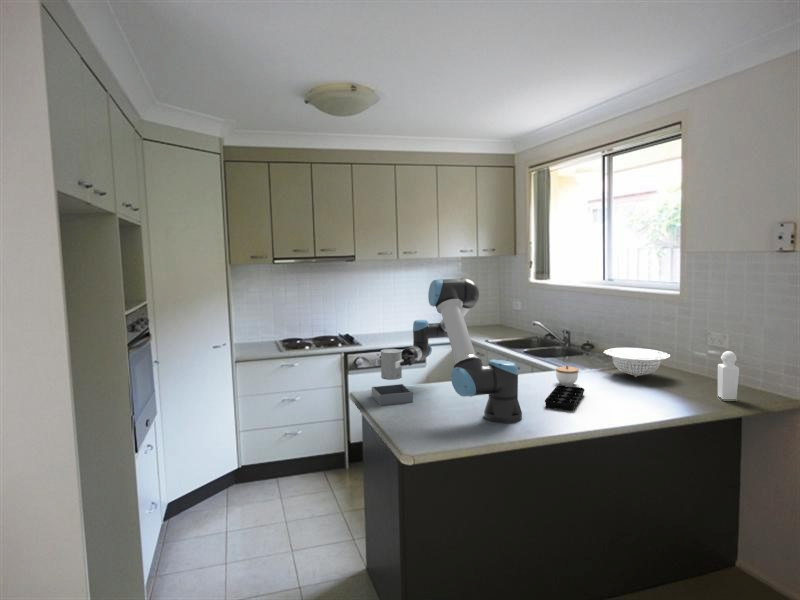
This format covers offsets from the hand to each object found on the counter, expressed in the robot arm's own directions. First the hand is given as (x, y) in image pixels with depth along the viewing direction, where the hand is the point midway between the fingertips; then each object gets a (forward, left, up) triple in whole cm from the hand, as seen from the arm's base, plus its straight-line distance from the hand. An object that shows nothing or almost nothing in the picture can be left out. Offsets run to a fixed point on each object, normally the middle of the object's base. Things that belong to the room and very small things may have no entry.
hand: (386, 364), depth 238 cm
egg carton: (+12, -79, -18) cm, 82 cm away
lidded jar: (+42, -84, -17) cm, 95 cm away
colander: (+61, -121, -17) cm, 136 cm away
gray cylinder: (+4, -2, -7) cm, 8 cm away
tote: (+4, -2, -17) cm, 18 cm away
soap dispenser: (+23, -150, -17) cm, 152 cm away
